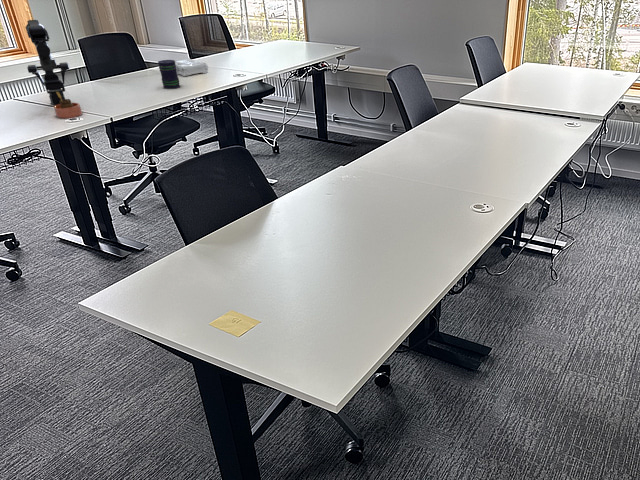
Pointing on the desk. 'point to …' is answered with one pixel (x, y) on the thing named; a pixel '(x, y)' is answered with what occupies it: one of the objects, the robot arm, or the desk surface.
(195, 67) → the white plastic package
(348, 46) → the desk surface
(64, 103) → the utensil holder
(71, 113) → the pot
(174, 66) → the storage jar
